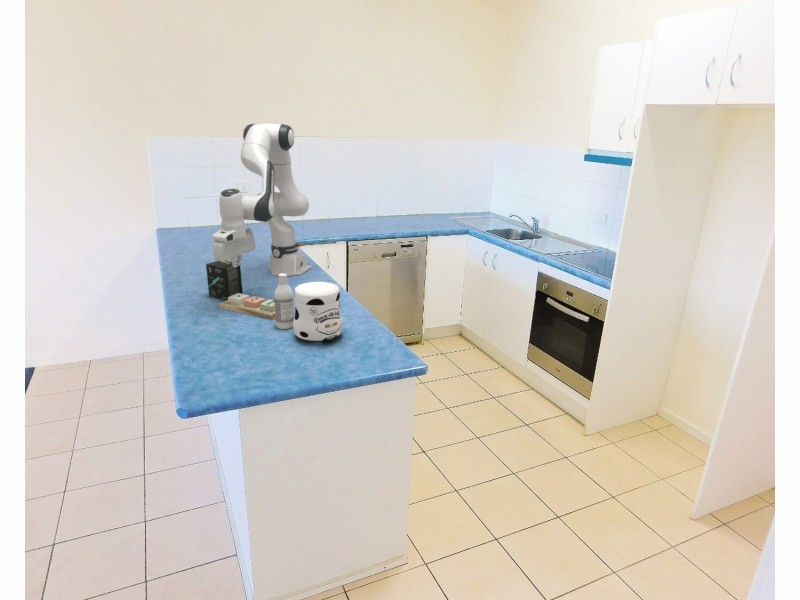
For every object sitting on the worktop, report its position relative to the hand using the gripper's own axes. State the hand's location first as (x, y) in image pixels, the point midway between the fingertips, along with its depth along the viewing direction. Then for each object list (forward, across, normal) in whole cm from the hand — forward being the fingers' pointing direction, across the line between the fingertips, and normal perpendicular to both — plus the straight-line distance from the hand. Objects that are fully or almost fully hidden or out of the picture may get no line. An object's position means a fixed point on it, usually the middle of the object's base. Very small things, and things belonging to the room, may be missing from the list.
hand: (236, 266), depth 212 cm
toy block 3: (+16, +1, +16) cm, 23 cm away
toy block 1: (+16, +1, 0) cm, 16 cm away
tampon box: (+17, -6, -13) cm, 22 cm away
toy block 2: (+16, +1, +8) cm, 18 cm away
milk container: (+16, +11, +45) cm, 49 cm away
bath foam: (+16, +9, +29) cm, 35 cm away
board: (+16, +1, +8) cm, 18 cm away
